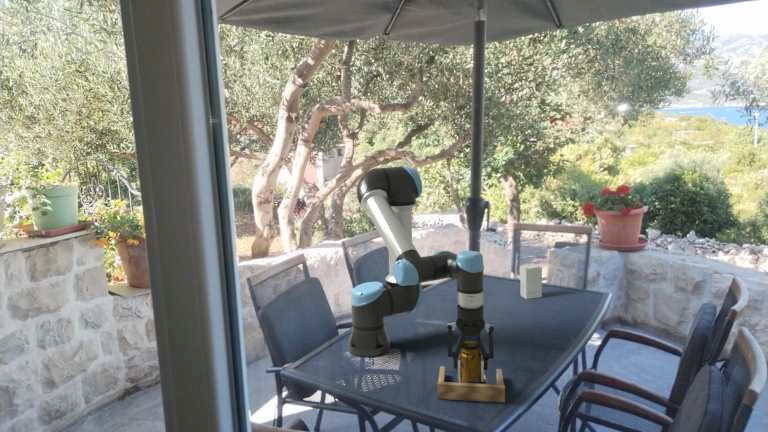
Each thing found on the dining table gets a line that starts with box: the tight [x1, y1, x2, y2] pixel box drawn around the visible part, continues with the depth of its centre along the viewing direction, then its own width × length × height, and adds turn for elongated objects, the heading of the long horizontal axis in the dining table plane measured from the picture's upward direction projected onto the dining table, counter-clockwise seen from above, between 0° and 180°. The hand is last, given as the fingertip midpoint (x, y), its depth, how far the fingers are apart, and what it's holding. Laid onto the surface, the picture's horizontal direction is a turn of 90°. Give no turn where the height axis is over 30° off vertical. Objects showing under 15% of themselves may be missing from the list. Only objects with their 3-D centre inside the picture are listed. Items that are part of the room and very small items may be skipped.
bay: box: [436, 365, 506, 403], centre depth 149 cm, size 19×14×4 cm
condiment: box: [458, 340, 491, 384], centre depth 147 cm, size 7×8×12 cm
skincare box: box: [519, 263, 543, 300], centre depth 229 cm, size 8×6×15 cm
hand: (470, 378), depth 148 cm, fingers closed on condiment, 6 cm apart
